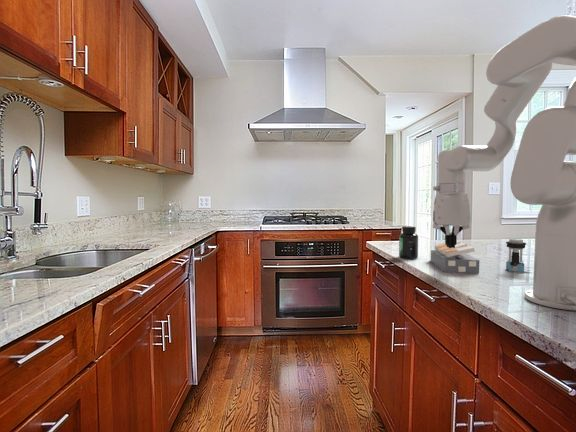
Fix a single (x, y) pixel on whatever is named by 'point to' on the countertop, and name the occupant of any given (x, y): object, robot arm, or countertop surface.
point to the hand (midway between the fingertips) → (450, 247)
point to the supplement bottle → (408, 243)
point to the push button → (515, 255)
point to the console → (455, 262)
